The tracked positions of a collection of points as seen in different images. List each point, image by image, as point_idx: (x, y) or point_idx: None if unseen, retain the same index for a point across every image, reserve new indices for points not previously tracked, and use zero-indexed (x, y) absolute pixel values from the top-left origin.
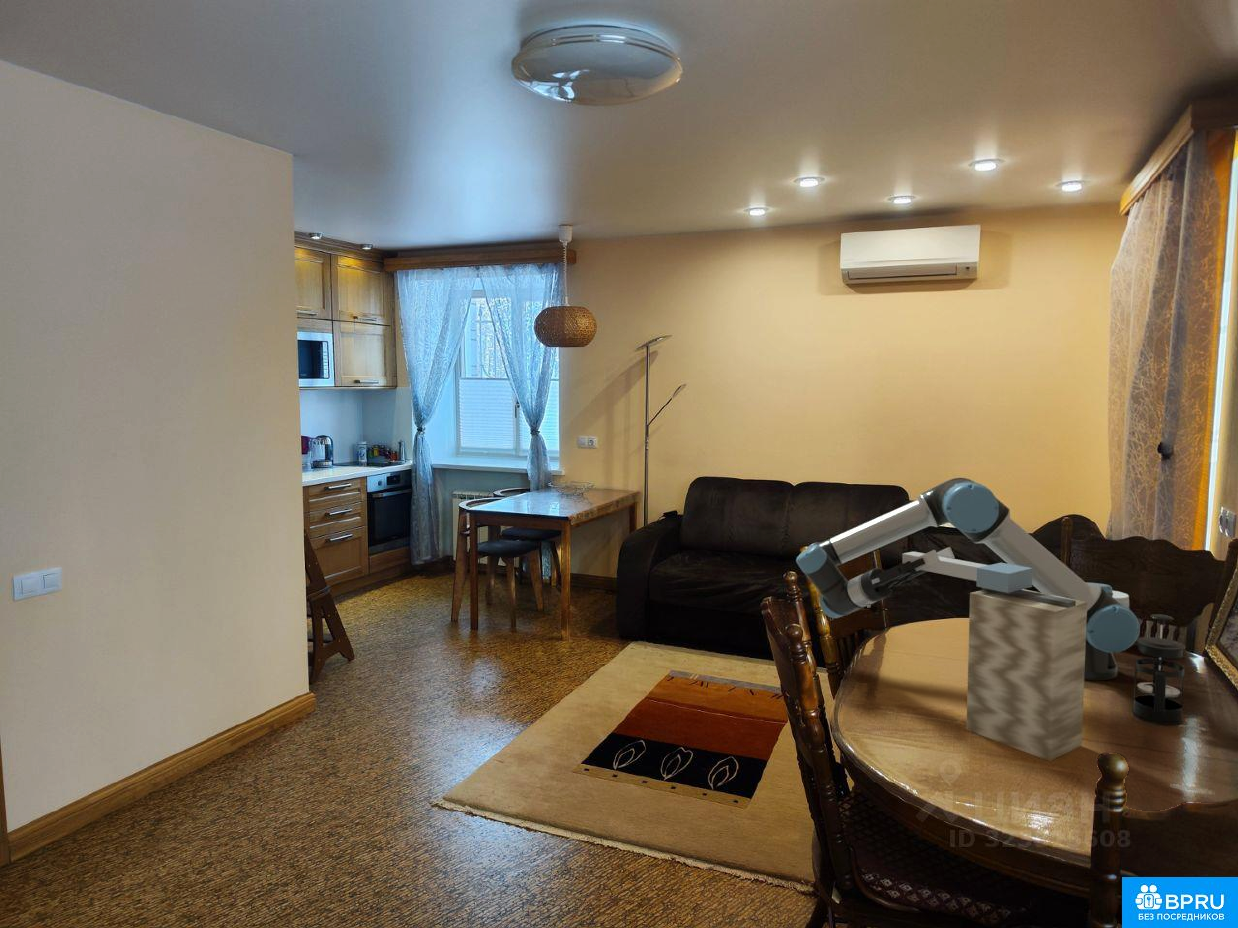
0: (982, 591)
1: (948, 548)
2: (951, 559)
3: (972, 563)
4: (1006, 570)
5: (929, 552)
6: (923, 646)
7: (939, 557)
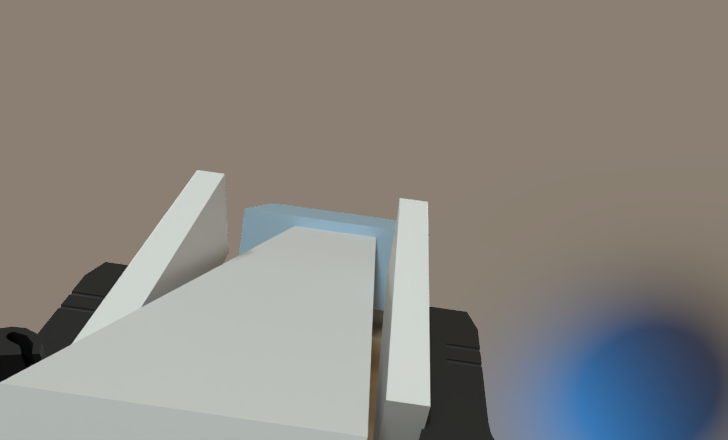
0: (377, 334)
1: (223, 183)
2: (278, 256)
3: (305, 239)
4: (377, 219)
5: (425, 231)
6: None
7: (266, 273)
